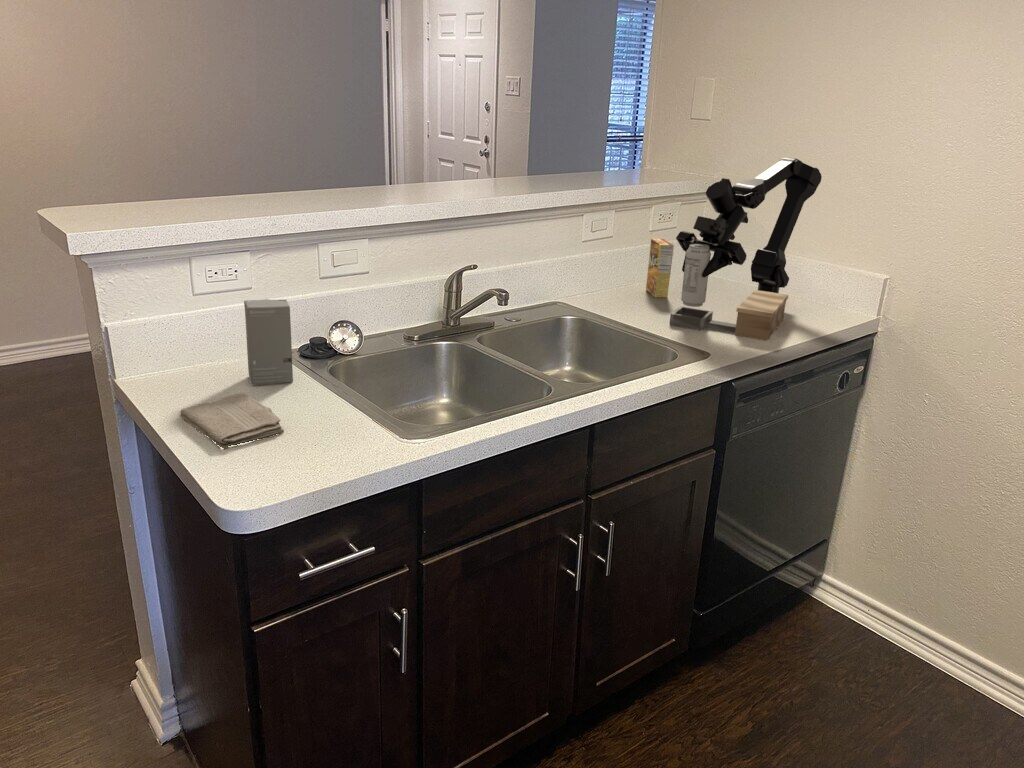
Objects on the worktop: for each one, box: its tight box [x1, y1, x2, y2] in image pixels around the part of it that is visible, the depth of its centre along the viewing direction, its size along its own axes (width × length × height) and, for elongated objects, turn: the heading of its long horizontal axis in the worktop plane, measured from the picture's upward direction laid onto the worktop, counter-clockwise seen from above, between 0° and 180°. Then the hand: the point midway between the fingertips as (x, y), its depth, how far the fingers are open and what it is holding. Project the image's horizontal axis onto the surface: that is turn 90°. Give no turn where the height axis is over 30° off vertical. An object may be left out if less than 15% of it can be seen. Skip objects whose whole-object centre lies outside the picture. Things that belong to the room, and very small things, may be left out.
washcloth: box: [179, 392, 285, 449], centre depth 139 cm, size 12×18×3 cm, turn 44°
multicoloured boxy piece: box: [668, 289, 789, 341], centre depth 206 cm, size 22×25×7 cm
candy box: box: [645, 238, 675, 299], centre depth 230 cm, size 9×4×15 cm, turn 9°
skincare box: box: [243, 298, 294, 387], centre depth 157 cm, size 8×7×16 cm
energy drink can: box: [680, 244, 712, 308], centre depth 201 cm, size 6×6×15 cm
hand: (692, 273), depth 200 cm, fingers closed on energy drink can, 6 cm apart
